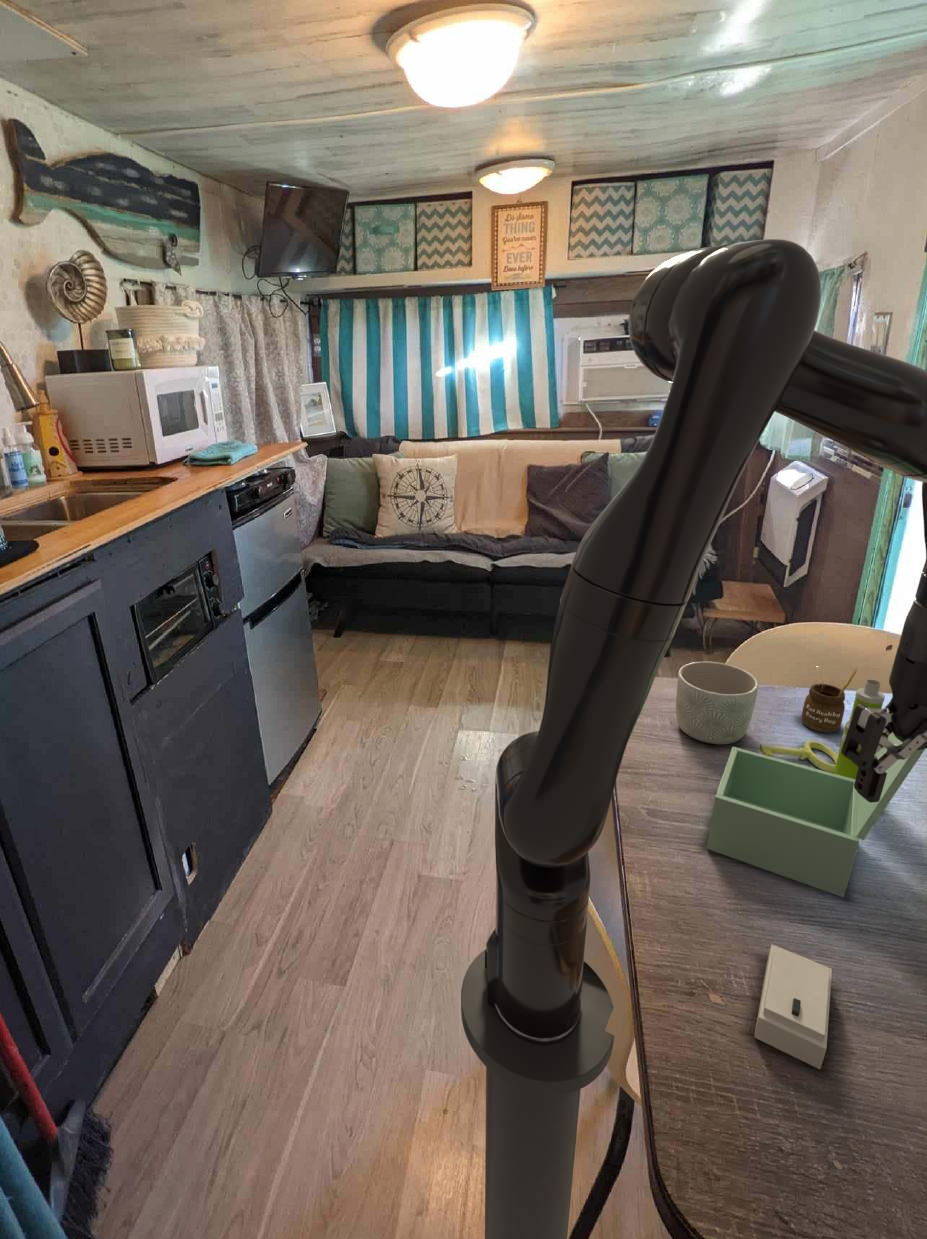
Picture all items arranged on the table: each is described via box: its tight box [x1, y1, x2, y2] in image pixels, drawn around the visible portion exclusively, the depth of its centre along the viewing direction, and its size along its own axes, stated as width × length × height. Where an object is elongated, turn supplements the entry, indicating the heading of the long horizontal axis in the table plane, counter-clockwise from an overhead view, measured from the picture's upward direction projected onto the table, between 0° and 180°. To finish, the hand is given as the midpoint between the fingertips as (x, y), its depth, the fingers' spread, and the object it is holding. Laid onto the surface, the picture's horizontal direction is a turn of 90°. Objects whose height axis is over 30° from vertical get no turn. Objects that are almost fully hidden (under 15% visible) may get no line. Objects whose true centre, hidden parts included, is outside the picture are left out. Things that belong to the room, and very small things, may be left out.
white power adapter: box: [753, 944, 833, 1070], centre depth 66 cm, size 10×6×4 cm, turn 144°
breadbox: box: [706, 746, 860, 898], centre depth 87 cm, size 16×14×9 cm
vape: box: [833, 679, 886, 779], centre depth 92 cm, size 4×6×20 cm, turn 79°
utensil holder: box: [800, 666, 858, 734], centre depth 112 cm, size 6×6×12 cm
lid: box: [856, 732, 926, 841], centre depth 76 cm, size 16×14×5 cm
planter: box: [675, 660, 760, 745], centre depth 112 cm, size 12×12×11 cm
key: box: [758, 740, 838, 773], centre depth 104 cm, size 7×12×2 cm, turn 99°
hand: (906, 793), depth 65 cm, fingers open, 8 cm apart
